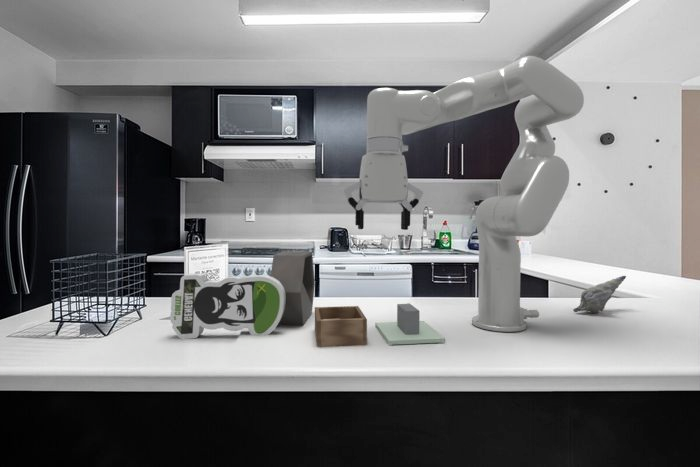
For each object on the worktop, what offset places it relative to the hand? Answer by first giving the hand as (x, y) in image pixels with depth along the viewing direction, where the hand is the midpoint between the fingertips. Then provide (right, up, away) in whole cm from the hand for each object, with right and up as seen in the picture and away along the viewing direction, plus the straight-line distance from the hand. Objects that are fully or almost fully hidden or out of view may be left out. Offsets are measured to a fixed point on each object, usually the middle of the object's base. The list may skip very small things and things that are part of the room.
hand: (382, 229), depth 84 cm
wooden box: (-9, -24, 0) cm, 26 cm away
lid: (+6, -24, +2) cm, 25 cm away
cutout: (-34, -24, +3) cm, 42 cm away
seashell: (+63, -23, +24) cm, 71 cm away
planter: (-21, -24, +15) cm, 35 cm away
